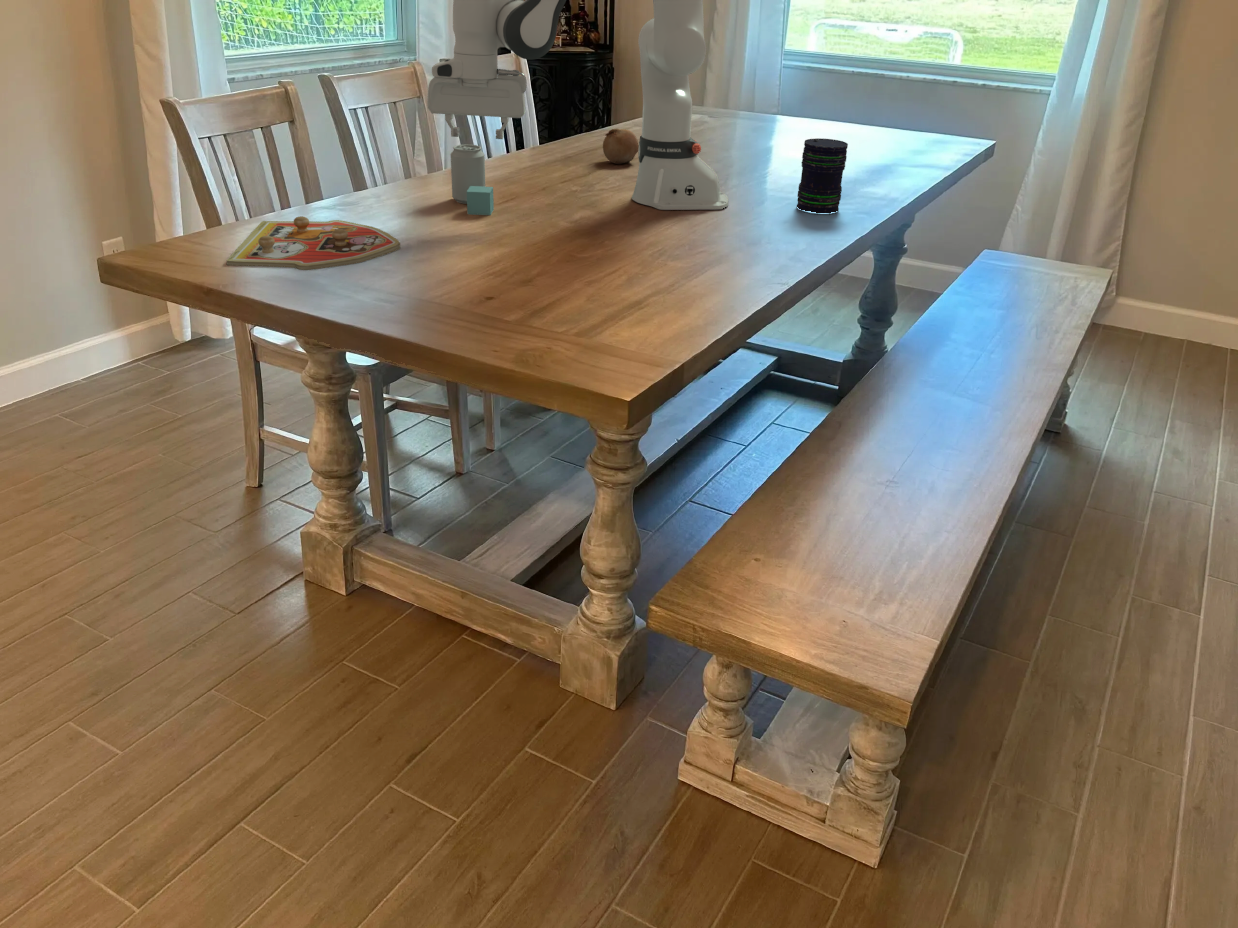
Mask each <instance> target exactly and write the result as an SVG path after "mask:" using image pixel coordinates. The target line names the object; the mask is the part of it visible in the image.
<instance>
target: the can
mask: <svg viewBox="0 0 1238 928" xmlns="http://www.w3.org/2000/svg"><path fill="white" fill-rule="evenodd" d="M452 148H453V150H452V152H451V153H450V154H449V155H450V174H451V176H450V177H451V193H452V194H451V195H452V196H451V197H452V198H453V199H454V200H455V202H457V203H458V204H464V205H465V204H466V205H467V190H468V189H469V187H470V186H482V187H486V161H485V159H486V158H485V155H486V154H485V153H484V152H483V151H482V147H481V146H480V145H476V144H465V143H464V144H457V145H454V146H453V147H452Z"/></svg>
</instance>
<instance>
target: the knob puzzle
mask: <svg viewBox="0 0 1238 928" xmlns="http://www.w3.org/2000/svg"><path fill="white" fill-rule="evenodd" d="M400 249H401V242H400V241H399V240H398V239H397V238H396V237H395V236H393V235H391V234H389V233H388V232H386V231H384V230H382V229H380V228H377V227H374V226H370V225H365V224H360V223H356V222H355V223H354V222H351V221H347V220H340V219H333V220H328V221H313V220H312V221H310V220H309V218H308V217H306V216H297V217H295V218H294V219H293V221H292V220H284V221H283V220H279V221H278V220H263V221H261V222H260V223H259V224H258V225H256V227H255V229H253V230H252V232H251V233H250V234H249V235H247V237H246V238H245V239H244V240H243V241H242V243H240V245H239V246H238V247H237V248H236V249H235V250H234V251H233V252H232V253H231V254H230V256H229V257H228V258H227V259H226V265H227V266H233V267H262V268H263V267H264V268H265V267H267V268H270V267H271V268H292V269H297V270H299V271H308V270H309V271H312V270H319V269H320V270H321V269H328V268H336V267H341V266H347V265H348V266H349V265H354V264H360V263H363V262H367V261H371V260H374V259H377V258H380V257H383V256H386V255H389V254H392V253H393V252H396V251H399V250H400Z"/></svg>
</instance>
